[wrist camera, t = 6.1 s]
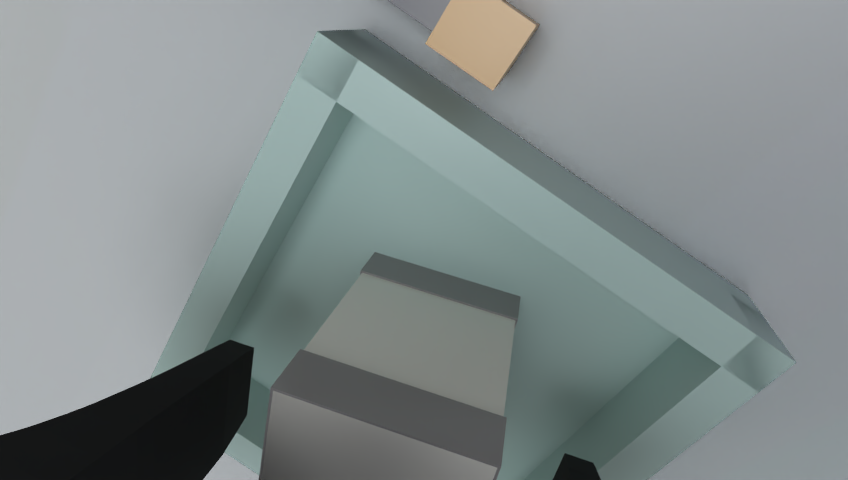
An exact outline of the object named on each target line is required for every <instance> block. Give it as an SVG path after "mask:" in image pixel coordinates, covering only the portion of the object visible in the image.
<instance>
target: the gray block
mask: <svg viewBox="0 0 848 480" xmlns="http://www.w3.org/2000/svg"><path fill="white" fill-rule="evenodd" d="M519 306H520V296H517V295H514V294H511V293H507V292H504V291H501V290H498V289H494V288H491V287H488V286H485V285H481V284H478V283H475V282H471V281H468V280H465V279H462V278H458V277H455V276H452V275H449V274H445V273H442V272H439V271H436V270H432V269H429V268H426V267H422V266H419V265H416V264H413V263H409V262H406V261H403V260H400V259H396V258H393V257H390V256H386V255H383V254H380V253H377V252H374V254H373V255H372V256H371V258H370V259H369V260H368V262H367V263H366V264H365V265H364V267H363V268H362V269H361V272H360V276H359V278H358V279H357V280H356V282H355V283H354V284H353V286H352V287H351V288H350V289H349V291H348V292H347V293H346V295H345V296H344V297H343V299H342V300H341V301H340V303H339V304H338V305H337V307H336V308H335V309H334V311H333V312H332V313H331V315H330V316H329V317H328V319H327V320H326V321H325V323H324V324H323V325H322V326H321V328H320V329H319V330H318V332H317V333H316V334H315V336H314V337H313V338H312V340H311V341H310V342H309V344H308V345H307V346H306V348H305V349H304V350H302V349H300V350H299V351H298V352H297V354H296V355H295V356H294V358H293V359H292V360H291V362H290V363H289V364H288V365H287V367H286V368H285V369H284V371H283V372H282V373H281V375H280V376H279V377H278V378H277V380H276V381H275V382H274V384H273V385H272V386H271V388H270V396H269V404H268V412H267V419H266V427H265V435H264V443H263V450H262V458H261V466H260V474H259V480H496V479H497V476H498V474H499V471H500V469H501V465H502V456H503V447H504V438H505V430H506V421H507V418H506V417H504V410H505V402H506V394H507V386H508V377H509V369H510V361H511V353H512V345H513V336H514V329H515V326H516V324H517V321H518V315H519Z"/></svg>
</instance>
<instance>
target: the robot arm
mask: <svg viewBox="0 0 848 480" xmlns="http://www.w3.org/2000/svg"><path fill="white" fill-rule="evenodd" d="M253 354H254V347H251V346H248V345H245V344H242V343H239V342H236V341H233V340H228V341H226V342H224V343H222V344H220V345H218V346H216V347H214V348H212V349H210V350H207V351H205V352H203V353H201V354H199V355H197V356H195V357H193V358H191V359H189V360H187V361H185V362H183V363H181V364H179V365H177V366H175V367H173V368H171V369H169V370H167V371H165V372H163V373H161V374H159V375H157V376H155V377H153V378H150V379H148V380H146V381H144V382H142V383H140V384H138V385H135V386H133V387H131V388H128V389H126V390H124V391H122V392H119V393H117V394H115V395H112V396H110V397H108V398H105V399H103V400H101V401H98V402H96V403H94V404H91V405H89V406H86V407H84V408H81V409H78V410H76V411H73V412H70V413H68V414H65V415H62V416H59V417H56V418H54V419H51V420H48V421H45V422H42V423H39V424H36V425H33V426H30V427H27V428H24V429H21V430H17V431H14V432H10V433H7V434H4V435H0V480H203V479H204V478H205V476H206V475H207V474H208V472H209V471H210V470H211V469H212V467H213V466H214V465H215V464H216V462H217V461H218V460H219V459H220V457H221V456H222V455H223V453H224V452H225V450H226V449H227V447H228V445H229V444H230V442H231V441H232V439H233V438H234V436H235V434H236V433H237V431H238V429H239V428H240V426H241V424H242V423H243V421H244V420H245V418H246V416H247V411H248V402H249V392H250V383H251V373H252V364H253ZM553 480H601V479H600V476H599V474H598V471H597V469H596V467H595V465H594V463H593V462H590V461H587V460H584V459H581V458H578V457H575V456H572V455H569V454H566V453H565V454H564V456H563V458H562V460H561V462H560V465H559V467H558V469H557V471H556V473H555V476H554V478H553Z"/></svg>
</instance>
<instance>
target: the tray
mask: <svg viewBox="0 0 848 480" xmlns="http://www.w3.org/2000/svg"><path fill="white" fill-rule="evenodd" d="M374 252H377V253H380V254H383V255H386V256H390V257H393V258H396V259H400V260H403V261H406V262H409V263H413V264H416V265H419V266H422V267H426V268H429V269H432V270H436V271H439V272H442V273H445V274H449V275H452V276H455V277H458V278H462V279H465V280H468V281H471V282H475V283H478V284H481V285H485V286H488V287H491V288H494V289H498V290H501V291H504V292H507V293H511V294H514V295H517V296H520V306H519V315H518V321H517V324H516V326H515V329H514V336H513V345H512V353H511V361H510V369H509V377H508V386H507V394H506V402H505V410H504V417H506V418H507V421H506V430H505V438H504V447H503V456H502V465H501V469H500V471H499V474H498V476H497V479H496V480H553V478H554V476H555V473H556V471H557V469H558V467H559V465H560V462H561V460H562V458H563V456H564V454H565V453H566V454H569V455H572V456H575V457H578V458H581V459H584V460H587V461H590V462H593V463H594V465H595V467H596V469H597V471H598V474H599V476H600V479H601V480H648V479H649V478H650V477H651V476H653V475H654V474H655V473H656V472H658V471H659V470H660V469H662V468H663V467H664V466H665V465H667V464H668V463H669V462H670V461H672V460H673V459H674V458H676V457H677V456H678V455H679V454H681V453H682V452H683V451H684V450H686V449H687V448H688V447H690V446H691V445H692V444H693V443H695V442H696V441H697V440H698V439H700V438H701V437H702V436H704V435H705V434H706V433H707V432H709V431H710V430H711V429H712V428H714V427H715V426H716V425H718V424H719V423H720V422H721V421H723V420H724V419H725V418H726V417H728V416H729V415H730V414H732V413H733V412H734V411H735V410H737V409H738V408H739V407H740V406H742V405H743V404H744V403H746V402H747V401H748V400H749V399H751V398H752V397H753V396H754V395H756V394H757V393H758V392H760V391H761V390H762V389H763V388H765V387H766V386H767V385H768V384H770V383H771V382H772V381H774V380H775V379H776V378H777V377H779V376H780V375H781V374H782V373H784V372H785V371H786V370H788V369H789V368H790V367H791V366H793V365H794V364H795V363H796V361H795V360H794V358H793V357H792V356H791V354H790V353H789V351H788V350H787V349H786V347H785V346H784V345H783V343H782V342H781V340H780V339H779V338H778V336H777V335H776V333H775V332H774V331H773V329H772V328H771V326H770V325H769V324H768V322H767V321H766V320H765V318H764V317H763V315H762V314H761V313H760V311H759V310H758V308H757V307H756V306H755V304H754V303H753V301H752V300H751V299H750V297H749V296H748V295H746V294H745V293H744V292H742V291H741V290H739V289H738V288H736V287H735V286H734V285H732V284H731V283H729V282H728V281H726V280H725V279H723V278H722V277H721V276H719V275H718V274H716V273H715V272H713V271H712V270H710V269H709V268H708V267H706V266H705V265H703V264H702V263H700V262H699V261H697V260H696V259H695V258H693V257H692V256H690V255H689V254H687V253H686V252H685V251H683V250H682V249H680V248H679V247H677V246H676V245H674V244H673V243H672V242H670V241H669V240H667V239H666V238H664V237H663V236H661V235H660V234H659V233H657V232H656V231H654V230H653V229H651V228H650V227H648V226H647V225H646V224H644V223H643V222H641V221H640V220H638V219H637V218H636V217H634V216H633V215H631V214H630V213H628V212H627V211H625V210H624V209H623V208H621V207H620V206H618V205H617V204H615V203H614V202H612V201H611V200H610V199H608V198H607V197H605V196H604V195H602V194H601V193H600V192H598V191H597V190H595V189H594V188H592V187H591V186H589V185H588V184H587V183H585V182H584V181H582V180H581V179H579V178H578V177H576V176H575V175H574V174H572V173H571V172H569V171H568V170H566V169H565V168H563V167H562V166H561V165H559V164H558V163H556V162H555V161H553V160H552V159H551V158H549V157H548V156H546V155H545V154H543V153H542V152H540V151H539V150H538V149H536V148H535V147H533V146H532V145H530V144H529V143H527V142H526V141H525V140H523V139H522V138H520V137H519V136H517V135H516V134H514V133H513V132H512V131H510V130H509V129H507V128H506V127H504V126H503V125H502V124H500V123H499V122H497V121H496V120H494V119H493V118H491V117H490V116H489V115H487V114H486V113H484V112H483V111H481V110H480V109H478V108H477V107H476V106H474V105H473V104H471V103H470V102H468V101H467V100H465V99H464V98H463V97H461V96H460V95H458V94H457V93H455V92H454V91H453V90H451V89H450V88H448V87H447V86H445V85H444V84H442V83H441V82H440V81H438V80H437V79H435V78H434V77H432V76H431V75H429V74H428V73H427V72H425V71H424V70H422V69H421V68H419V67H418V66H416V65H415V64H414V63H412V62H411V61H409V60H408V59H406V58H405V57H404V56H402V55H401V54H399V53H398V52H396V51H395V50H393V49H392V48H391V47H389V46H388V45H386V44H385V43H383V42H382V41H380V40H379V39H378V38H376V37H375V36H373V35H372V34H370V33H369V32H368V31H366V30H365V29H362V30H336V31H317V33H316V35H315V37H314V39H313V41H312V43H311V45H310V47H309V49H308V52H307V54H306V56H305V58H304V60H303V62H302V64H301V66H300V68H299V70H298V72H297V74H296V76H295V79H294V81H293V83H292V85H291V87H290V89H289V91H288V93H287V95H286V97H285V99H284V101H283V103H282V106H281V108H280V110H279V112H278V114H277V116H276V118H275V120H274V122H273V124H272V126H271V128H270V131H269V133H268V135H267V137H266V139H265V141H264V143H263V145H262V147H261V149H260V151H259V153H258V155H257V158H256V160H255V162H254V164H253V166H252V168H251V170H250V172H249V174H248V176H247V178H246V180H245V182H244V185H243V187H242V189H241V191H240V193H239V195H238V197H237V199H236V201H235V203H234V205H233V207H232V210H231V212H230V214H229V216H228V218H227V220H226V222H225V224H224V226H223V228H222V230H221V232H220V234H219V237H218V239H217V241H216V243H215V245H214V247H213V249H212V251H211V253H210V255H209V257H208V259H207V261H206V264H205V266H204V268H203V270H202V272H201V274H200V276H199V278H198V280H197V282H196V284H195V286H194V289H193V291H192V293H191V295H190V297H189V299H188V301H187V303H186V305H185V307H184V309H183V311H182V313H181V316H180V318H179V320H178V322H177V324H176V326H175V328H174V330H173V332H172V334H171V336H170V338H169V340H168V343H167V345H166V347H165V349H164V351H163V353H162V355H161V357H160V359H159V361H158V363H157V365H156V367H155V370H154V372H153V374H152V376H151V378H153V377H155V376H157V375H159V374H161V373H163V372H165V371H167V370H169V369H171V368H173V367H175V366H177V365H179V364H181V363H183V362H185V361H187V360H189V359H191V358H193V357H195V356H197V355H199V354H201V353H203V352H205V351H207V350H210V349H212V348H214V347H216V346H218V345H220V344H222V343H224V342H226V341H228V340H233V341H236V342H239V343H242V344H245V345H248V346H251V347H254V354H253V364H252V373H251V383H250V392H249V402H248V411H247V416H246V418H245V420H244V421H243V423H242V424H241V426H240V428H239V429H238V431H237V433H236V434H235V436H234V438H233V439H232V441H231V442H230V444H229V445H228V447H227V449H226V450H225V453H226V454H228V455H229V456H231V457H232V458H234V459H235V460H237V461H238V462H240V463H241V464H243V465H244V466H246V467H247V468H249V469H251V470H252V471H254V472H255V473H257V474H258V475H259V474H260V466H261V458H262V450H263V443H264V435H265V427H266V419H267V412H268V404H269V396H270V388H271V386H272V385H273V384H274V382H275V381H276V380H277V378H278V377H279V376H280V375H281V373H282V372H283V371H284V369H285V368H286V367H287V365H288V364H289V363H290V362H291V360H292V359H293V358H294V356H295V355H296V354H297V352H298V351H299V350H300V349H302V350H304V349H305V348H306V346H307V345H308V344H309V342H310V341H311V340H312V338H313V337H314V336H315V334H316V333H317V332H318V330H319V329H320V328H321V326H322V325H323V324H324V323H325V321H326V320H327V319H328V317H329V316H330V315H331V313H332V312H333V311H334V309H335V308H336V307H337V305H338V304H339V303H340V301H341V300H342V299H343V297H344V296H345V295H346V293H347V292H348V291H349V289H350V288H351V287H352V286H353V284H354V283H355V282H356V280H357V279H358V278H359V276H360V272H361V269H362V268H363V267H364V265H365V264H366V263H367V262H368V260H369V259H370V258H371V256H372V255H373V254H374Z"/></svg>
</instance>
